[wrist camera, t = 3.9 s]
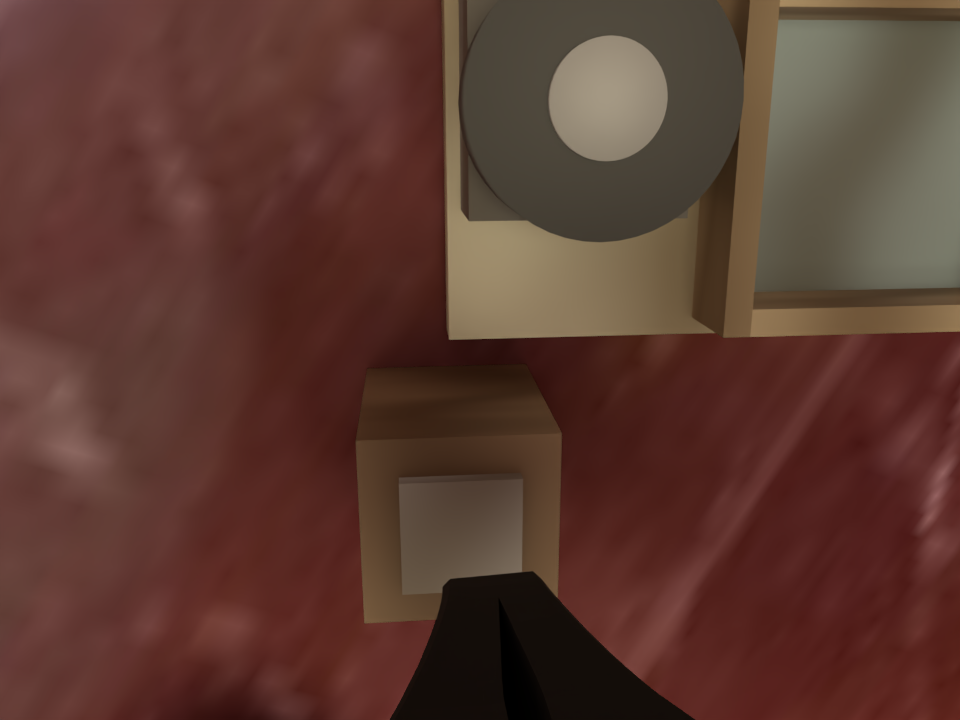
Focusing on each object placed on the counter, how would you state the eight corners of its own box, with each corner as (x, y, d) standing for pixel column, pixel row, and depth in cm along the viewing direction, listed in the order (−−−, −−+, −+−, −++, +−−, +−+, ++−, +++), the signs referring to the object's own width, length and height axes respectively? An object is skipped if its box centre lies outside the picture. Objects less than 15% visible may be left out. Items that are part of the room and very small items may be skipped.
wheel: (680, -15, 17) (761, -57, 13) (666, 218, 18) (737, 241, 14) (449, -18, 17) (463, -62, 13) (453, 221, 18) (466, 246, 14)
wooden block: (525, 363, 21) (564, 439, 16) (524, 507, 22) (560, 621, 17) (367, 367, 20) (354, 446, 15) (373, 513, 21) (363, 631, 16)
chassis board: (994, -18, 19) (1124, -50, 16) (943, 315, 21) (1047, 351, 18) (441, -24, 18) (449, -61, 15) (446, 327, 20) (455, 368, 17)
